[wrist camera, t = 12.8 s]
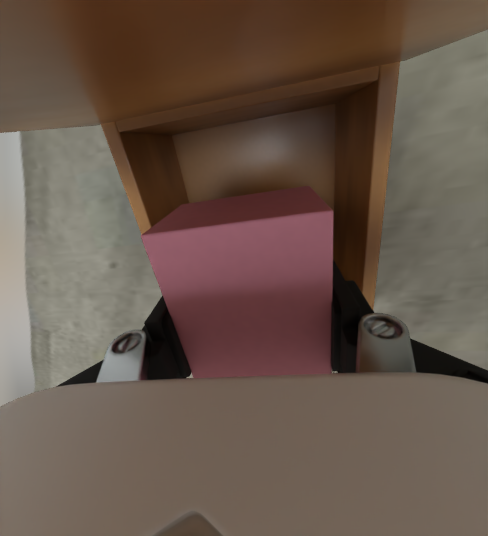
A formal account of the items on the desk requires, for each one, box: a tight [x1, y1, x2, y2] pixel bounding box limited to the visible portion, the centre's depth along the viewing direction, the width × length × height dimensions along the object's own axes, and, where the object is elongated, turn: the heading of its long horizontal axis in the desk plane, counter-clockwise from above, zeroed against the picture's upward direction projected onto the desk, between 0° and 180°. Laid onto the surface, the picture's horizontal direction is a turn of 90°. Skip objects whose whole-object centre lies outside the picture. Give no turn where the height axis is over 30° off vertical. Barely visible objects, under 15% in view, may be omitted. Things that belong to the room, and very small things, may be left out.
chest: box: [101, 62, 400, 310], centre depth 16 cm, size 14×12×7 cm
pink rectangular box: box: [141, 186, 333, 378], centre depth 11 cm, size 9×6×4 cm, turn 9°
